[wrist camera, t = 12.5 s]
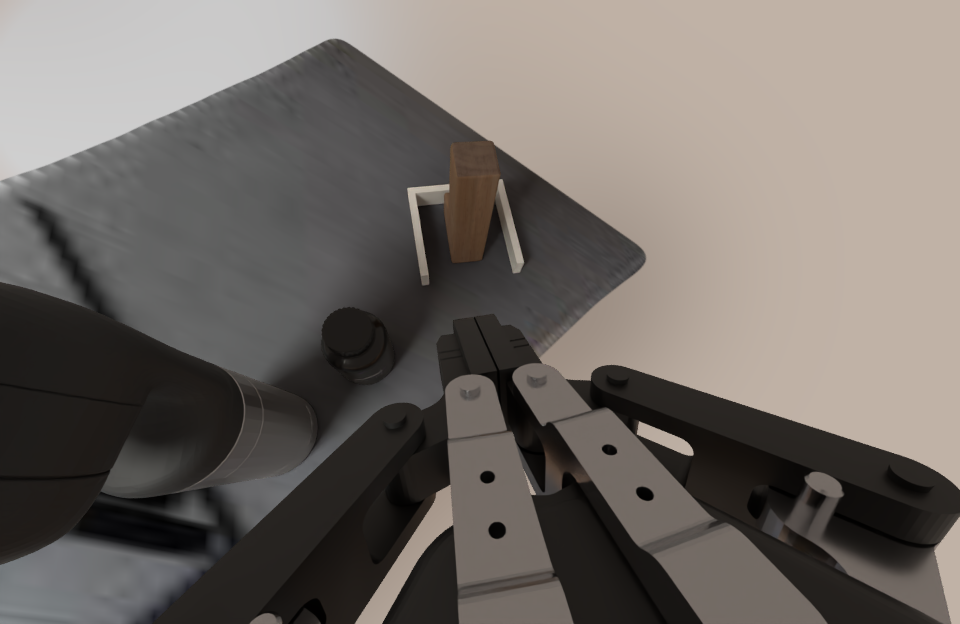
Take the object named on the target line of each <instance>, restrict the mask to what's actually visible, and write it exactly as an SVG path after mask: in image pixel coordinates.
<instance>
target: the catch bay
mask: <svg viewBox="0 0 960 624" xmlns="http://www.w3.org/2000/svg"><path fill="white" fill-rule="evenodd" d="M407 190H408V198H409V205H410V211H411V218H412V224H413V230H414V237H415V243H416V250H417V256H418V263H419V269H420V275H421V282H422V286H423V285H429V274H428V268H427V262H426V256H425V250H424V244H423V237H422V231H421V225H420V219H419V213H418V207H417V206H424V205H434V204H444V194H445V193H448V192H449V184H446V185H436V186H425V187H414V188H407ZM495 202H496V207H497V211H498V215H499V219H500V223H501V227H502V231H503V235H504V239H505V243H506V247H507V251H508V255H509V259H510V263H511V267H512V271H513V273H520V271H521V269H522V266H523V264H524V260H523V256H522V253H521V249H520V245H519V241H518V237H517V233H516V230H515V226H514V222H513V218H512V214H511V210H510V207H509V203H508V199H507V195H506V191H505V187H504V184H503V180H502V179H500V180H499V183H498V188H497V193H496V197H495Z"/></svg>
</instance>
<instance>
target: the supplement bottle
mask: <svg viewBox="0 0 960 624" xmlns="http://www.w3.org/2000/svg"><path fill="white" fill-rule="evenodd" d="M321 348H322V352H323V355H324V357H325V359H326V360H327V361H328V363H329V364H330V365H331V366H332V367H334V368H335V369H336V370H337V371H338V372H340V373H341V374H342V375H343V376H344V377H345V378H347V379H348V380H350V381H351V382H353V383H356V384H360V385H370V384H374V383H377V382H379V381H381V380H382V379H384V378H385V377H386V376H387V375H388V374H389V372H390V371H391V369H392V367H393V364H394V360H395V353H394V348H393V345H392V343H391V340H390V338H389V335H388V333H387V330H386V328H385V326H384V325H383V323H382V322H381V321H380V320H379V319H378V318H377V317H376V316H374V315H373V314H371V313H368V312H365V311H362V310H359V309H356V308H354V307H353V308H350V307H348V308H342V309H338V310H336V311H334V312H333V313H331V314H330V316H328V317H327V319H326V320H325V321H324V324H323V328H322V340H321Z"/></svg>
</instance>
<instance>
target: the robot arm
mask: <svg viewBox="0 0 960 624" xmlns="http://www.w3.org/2000/svg"><path fill="white" fill-rule="evenodd" d="M453 330H454V334H449V335H442V336H440V338H439V340H438V342H437V344H436V345H437V352H438V359H439V367H440V374H441V381H442V386H443V391H444V395H443V396H442V398H441V399H440V400H439V401H438V402H437V403H435V404H434V405H432V406H430V407H428V408H426V409H424V410H422V411H421V409H420V408H419V407H417V406H416V405H413V404H410V403H395V404H391V405H388V406H385V407H383V408H381V409H380V410H378V411H377V412H376V413H375V414H373V415H372V416H371V417H370V418H369V419H368V420H367V421H366V422H365V423H364V424H363V425H362V426H361V427H360V428H359V429H358V430H356V431H355V432H354V433H353V434H352V435H351V436H350V437H349V438H348V439H347V440H346V441H345V442H344V443H343V444H342V445H341V446H340V447H338V448H337V449H336V450H335V451H334V452H333V453H332V454H331V455H330V456H329V457H328V458H327V459H326V460H325V461H324V462H323V463H322V464H321V465H319V466H318V467H317V468H316V469H315V470H314V471H313V472H312V473H311V474H310V475H309V476H308V477H307V478H306V479H305V480H304V481H303V482H301V483H300V484H299V485H298V486H297V487H296V488H295V489H294V490H293V491H292V492H291V493H290V494H289V495H288V496H287V497H286V498H285V499H283V500H282V501H281V502H280V503H279V504H278V505H277V506H276V507H275V508H274V509H273V510H272V511H271V512H270V513H269V514H268V515H267V516H266V517H264V518H263V519H262V520H261V521H260V522H259V523H258V524H257V525H256V526H255V527H254V528H253V529H252V530H251V531H250V532H249V533H248V534H246V535H245V536H244V537H243V538H242V539H241V540H240V541H239V542H238V543H237V544H236V545H235V546H234V547H233V548H232V549H231V550H230V551H228V552H227V553H226V554H225V555H224V556H223V557H222V558H221V559H220V560H219V561H218V562H217V563H216V564H215V565H214V566H213V567H212V568H211V569H209V570H208V571H207V572H206V573H205V574H204V575H203V576H202V577H201V578H200V579H199V580H198V581H197V582H196V583H195V584H194V585H193V586H191V587H190V588H189V589H188V590H187V591H186V592H185V593H184V594H183V595H182V596H181V597H180V598H179V599H178V600H177V601H176V602H175V603H173V604H172V605H171V606H170V607H169V608H168V609H167V610H166V611H165V612H164V613H163V614H162V615H161V616H160V617H159V618H158V619H157V620H155V621H154V622H153V623H152V624H355V622H356V621H357V619H358V617H359V616H360V615H361V613H362V611H363V610H364V608H365V607H366V605H367V604H368V602H369V601H370V599H371V598H372V596H373V594H374V593H375V592H376V590H377V589H378V587H379V585H380V584H381V582H382V581H383V579H384V578H385V576H386V575H387V573H388V572H389V570H390V569H391V567H392V565H393V564H394V563H395V561H396V559H397V558H398V556H399V555H400V553H401V552H402V550H403V549H404V547H405V546H406V544H407V543H408V541H409V540H410V538H411V537H412V535H413V534H414V532H415V530H416V529H417V527H418V526H419V524H420V523H421V521H422V520H423V518H424V517H425V515H426V514H427V512H428V511H429V509H430V508H431V506H432V504H433V503H434V500H435V497H436V492H438V491H440V490H441V489H443V488H445V487H447V486H449V485H451V498H452V511H453V525H452V526H451V527H449V528H448V529H447V530H445V531H444V532H443V533H442V534H440V535H439V536H438V537H437V538H436V539H435V540H434V541H433V542H432V543H431V544H430V545H429V546H428V548H427V549H426V550H425V551H424V553H423V554H422V555H421V557H420V558H419V560H418V561H417V563H416V565H415V566H414V568H413V570H412V572H411V573H410V575H409V577H408V579H407V580H406V582H405V584H404V586H403V587H402V589H401V591H400V593H399V595H398V596H397V598H396V600H395V602H394V604H393V605H392V607H391V609H390V611H389V612H388V614H387V616H386V618H385V620H384V621H383V623H382V624H951V621H950V616H949V612H948V608H947V603H946V599H945V595H944V591H943V586H942V582H941V578H940V573H939V569H938V565H937V560H936V556H935V552H934V550H935V549H936V547H937V546H938V545H939V543H940V542H941V540H942V539H943V538H944V537H945V535H946V534H947V533H948V531H949V530H950V529H951V527H952V526H953V525H954V523H955V522H956V521H957V519H958V518H959V517H960V490H959V489H958V488H957V487H956V486H955V485H954V484H953V483H952V482H951V481H949V480H948V479H947V478H945V477H944V476H943V475H941V474H940V473H938V472H936V471H935V470H933V469H931V468H929V467H927V466H925V465H923V464H921V463H919V462H917V461H914V460H912V459H909V458H906V457H903V456H900V455H897V454H894V453H891V452H888V451H885V450H881V449H879V448H875V447H872V446H869V445H866V444H863V443H860V442H856V441H854V440H851V439H847V438H844V437H841V436H838V435H835V434H832V433H829V432H826V431H822V430H819V429H816V428H813V427H810V426H807V425H804V424H801V423H797V422H795V421H792V420H788V419H785V418H782V417H779V416H776V415H773V414H770V413H766V412H763V411H760V410H757V409H754V408H751V407H748V406H745V405H742V404H739V403H736V402H732V401H729V400H726V399H723V398H719V397H717V396H714V395H711V394H708V393H704V392H701V391H698V390H695V389H692V388H689V387H686V386H683V385H679V384H676V383H673V382H670V381H667V380H664V379H661V378H658V377H655V376H652V375H648V374H645V373H642V372H639V371H636V370H633V369H630V368H626V367H623V366H618V365H606V366H601V367H599V368H597V369H595V370H594V371H593V372H592V375H591V381H585V380H584V381H583V380H568V379H565V378H564V377H563V376H562V375H561V374H560V373H559V371H557V369H555V368H553V367H551V366H549V365H546V364H542V362H541V361H540V359H539V358H538V356H537V355H536V353H535V352H534V350H533V349H532V347H531V346H529V343H528V341H527V340H526V339H525V337H524V335H523V334H522V332H521V331H520V330H519V329H517V328H515V327H513V326H512V325H505V326H501V325H500V323H499V321H498V320H497V318H496V316H495V315H494V314H490V315H484V316H477V317H474V318H473V317H471V318H465V319H458V320H453ZM639 421H640V422H642V423H645V424H648V425H650V426H652V427H655V428H657V429H660V430H662V431H665V432H667V433H670V434H672V435H675V436H677V437H680V438H682V439H684V440H685V441H687V442H688V443H689V444H690V446H691V447H692V449H693V452H694V455H693V456H687V455H684V454H681V453H679V452H677V451H674V450H672V449H669V448H667V447H665V446H662V445H660V444H658V443H655V442H653V441H650V440H648V439H646V438H643V437H641V436H639V435H637V430H638V423H639ZM317 429H318V424H317V418H316V415H315V412H314V410H313V408H312V407H311V406H310V404H309V403H308V402H307V401H305V400H304V399H303V398H301V397H299V396H297V395H295V394H292V393H290V392H287V391H284V390H282V389H279V388H277V387H274V386H271V385H268V384H266V383H263V382H260V381H257V380H255V379H252V378H249V377H247V376H244V375H241V374H238V373H236V372H233V371H230V370H227V369H224V368H222V367H219V366H217V365H214V364H212V363H209V362H206V361H204V360H201V359H199V358H196V357H194V356H191V355H189V354H186V353H184V352H181V351H179V350H177V349H175V348H172V347H170V346H168V345H166V344H164V343H162V342H160V341H158V340H156V339H154V338H152V337H150V336H147V335H145V334H143V333H141V332H139V331H137V330H135V329H133V328H131V327H129V326H127V325H125V324H122V323H120V322H118V321H116V320H113V319H111V318H109V317H106V316H104V315H102V314H99V313H97V312H95V311H92V310H90V309H87V308H85V307H82V306H79V305H77V304H74V303H71V302H68V301H65V300H62V299H59V298H56V297H53V296H50V295H47V294H43V293H40V292H37V291H34V290H31V289H27V288H23V287H20V286H15V285H11V284H6V283H2V282H0V565H1V564H4V563H7V562H10V561H13V560H16V559H18V558H21V557H23V556H26V555H28V554H31V553H33V552H35V551H37V550H39V549H41V548H43V547H45V546H47V545H49V544H51V543H53V542H55V541H56V540H58V539H59V538H61V537H62V536H64V535H65V534H66V533H68V532H69V531H70V530H71V529H72V528H73V527H74V526H75V525H76V524H77V523H78V522H79V521H80V519H81V518H82V517H83V516H84V514H85V513H86V512H87V511H88V509H89V508H90V506H91V505H92V504H93V502H94V501H95V499H96V498H97V496H98V494H99V493H100V491H101V492H104V493H106V494H110V495H113V496H118V497H124V498H144V497H153V496H159V495H165V494H170V493H177V492H183V491H189V490H195V489H200V488H206V487H212V486H218V485H224V484H230V483H236V482H242V481H249V480H255V479H262V478H268V477H273V476H278V475H282V474H284V473H287V472H289V471H291V470H292V469H294V468H295V467H297V466H298V465H299V464H300V463H301V462H303V461H304V460H305V458H306V457H307V456H308V454H309V453H310V452H311V450H312V448H313V446H314V444H315V441H316V437H317ZM512 432H513V433H512ZM513 435H514V436H513ZM514 438H515V439H514ZM523 469H524V470H523ZM524 471H525V473H526V475H527V477H528V479H529V481H530V483H531V485H532V487H533V489H534V491H535V493H536V495H531V493H530V490H529V487H528V483H527V480H526V476H525V473H524Z"/></svg>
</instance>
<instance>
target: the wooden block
mask: <svg viewBox="0 0 960 624" xmlns="http://www.w3.org/2000/svg"><path fill="white" fill-rule="evenodd" d="M499 179H500V169H499V165H498V160H497V156H496V151H495V147H494V143H493V142H492V141H475V142H455V143H452V145H451V150H450V183H449V192H448V193H445V194H444V216H445V223H446V230H447V236H448V243H449V249H450V256H451V261H452V263H461V262H471V261H480V260H482V258H483V253H484V249H485V244H486V240H487V235H488V230H489V225H490V220H491V216H492V211H493V207H494V202H495V197H496V193H497V188H498V183H499Z"/></svg>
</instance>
